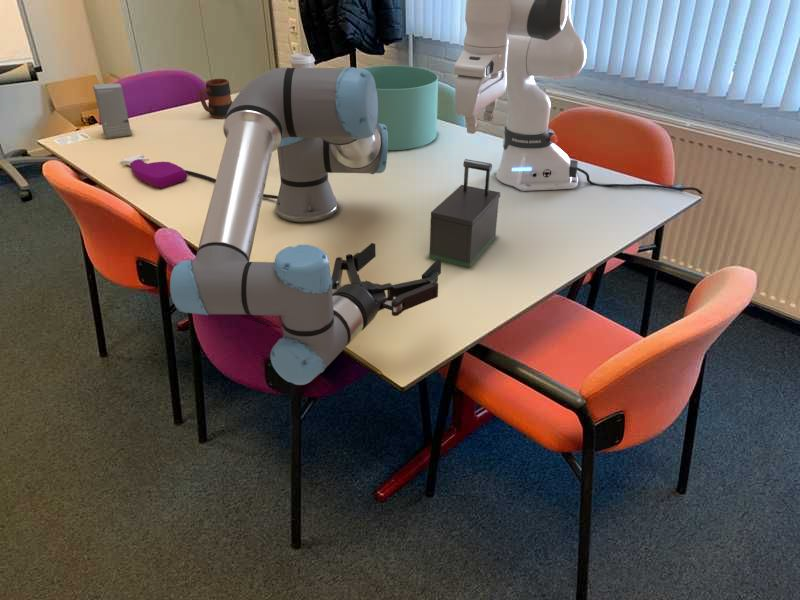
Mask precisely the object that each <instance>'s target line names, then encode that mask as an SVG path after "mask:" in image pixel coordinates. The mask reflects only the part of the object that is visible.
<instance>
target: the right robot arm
mask: <svg viewBox="0 0 800 600" xmlns="http://www.w3.org/2000/svg"><path fill="white" fill-rule="evenodd" d="M572 1H573V0H466V1H465V2H466V3H465V12H464V13H465V15H464V16H465V17H464V21H465V25H466V26H465V27H466V32H465V36H464V39H463V50H461V54H460V55H459V57H458V59H457V60H456V62H455V63H454V68H453V73H454V75H456V76H457V77H456V79H455V85H454V109H455V112H456V114H457V116H460V117H464V119H465V123H466V132H467V133H468V134H471V135H473V134H475V133H477V131H478V126H479V125H478V123H477V118H478V113H480V112H482V111H483V110H484V109H485V110H484V112H483V121H487V122H491V121H492V120H493V119H494V117H495V111H496V107H497V104H498V99H499V98H500V97H502V96H504V95H505V93H506V97H507V98H506V99H507V114H506V115H507V116H506V125H505V127H504V131H503V135H502V136H503V137H502V148H503V149H502V151H503V152H502V154H501V159H500V162H499V167H498V169H497V172H496V175H495V177H496V180H498V181H499V182H501V183H502V184H504V185H507V186H511V187H515V189H517V190H519V191H522V192H529V191H530V192H531V191H550V190H551V191H552V190H572V189H576V188H577V186H578V184H579V178H578V175H577V172H580V173H582V174H584V175H585V177H586V181H587V183H588V184H590V185H592V186H597V187H599V186H600V187H605V188H611V187H612V188H614V187H615V188H616V187H618V188H619V187H620V188H631V187H632V188H633V187H634V188H635V187H645V188H646V187H647V188H648V187H649V188H660V189H667V190H674V191H695V192H697V193H698V194H699V195H704V192H703V191H702V190H701V189H700V188H697V187H692V186H689V187H678V186H669V185H664V184H663V185H662V184H654V183H653V184H652V183H608V184H607V183H606V184H605V183H604V184H602V183H601V184H600V183H596V182H594V181H591V180H590V175H589V173H588V172H587V171H586V170H584V169H582V168H579V167H578V165H579V163H578V162H579V160H575V159H570V157H569V155H568V154H567V153H566V152H565V151H564V150H563V149H561V148H560V147H559V146H558V145H557V143H558V141H559V138H558V135H557V134H555V131H554V130H553V129H552V127H551V128H549V121H550V114H551V107H552V104H551V99H550V97H549V95H548V94H547V93H546V92H545V91H544V90H542V89H541V87H539V86H538V84H537V83H536V81H535V78H544V79H547V80H548V79H549V80H567V79H568V80H569V79H570V80H571V79H574V78H576V77H577V76H578V75H579V74H580V73H581V71H582V70H583V68H584V66H585V65H586V61H587V47H586V44H585V42H584V40H583V39H582V38H581V37H580V35H579V34H578V33H577V31H576V29H575V27H574V24H573V20H572Z"/></svg>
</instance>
